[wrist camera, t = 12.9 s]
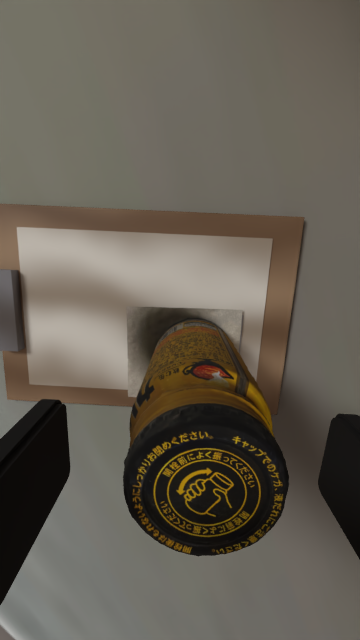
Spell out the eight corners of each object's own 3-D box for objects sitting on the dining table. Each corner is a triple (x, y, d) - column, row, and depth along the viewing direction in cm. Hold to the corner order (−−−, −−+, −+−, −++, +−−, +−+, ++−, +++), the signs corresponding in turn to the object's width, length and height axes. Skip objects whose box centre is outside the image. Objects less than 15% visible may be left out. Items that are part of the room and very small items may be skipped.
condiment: (234, 399, 20) (304, 590, 8) (128, 395, 20) (45, 576, 8) (242, 309, 18) (340, 382, 7) (127, 305, 19) (24, 369, 7)
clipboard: (-9, 204, 18) (-23, 200, 17) (301, 218, 18) (310, 214, 16) (10, 396, 21) (0, 404, 20) (275, 411, 21) (280, 420, 19)
